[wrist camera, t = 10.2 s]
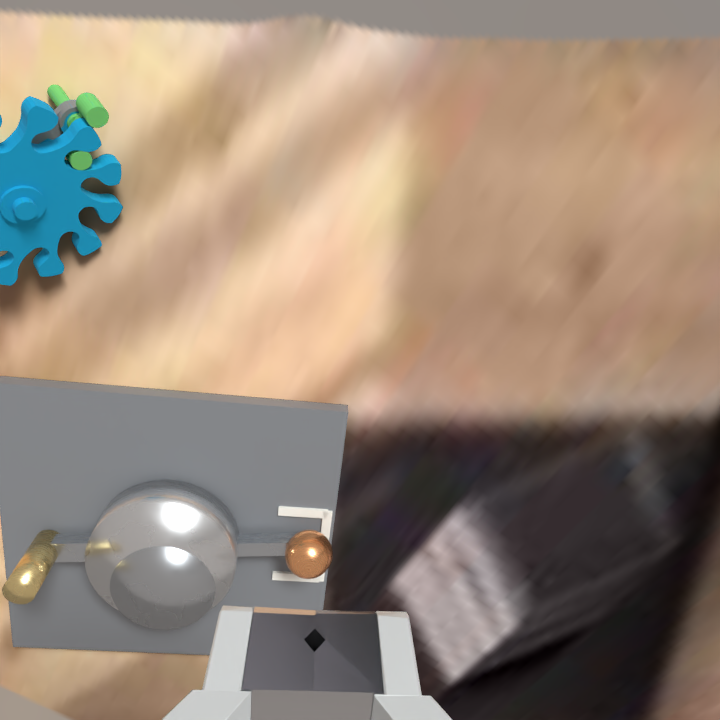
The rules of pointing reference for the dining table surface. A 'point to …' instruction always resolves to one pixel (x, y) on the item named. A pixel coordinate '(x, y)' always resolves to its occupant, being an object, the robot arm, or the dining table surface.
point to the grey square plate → (158, 462)
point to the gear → (52, 181)
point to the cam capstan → (163, 554)
